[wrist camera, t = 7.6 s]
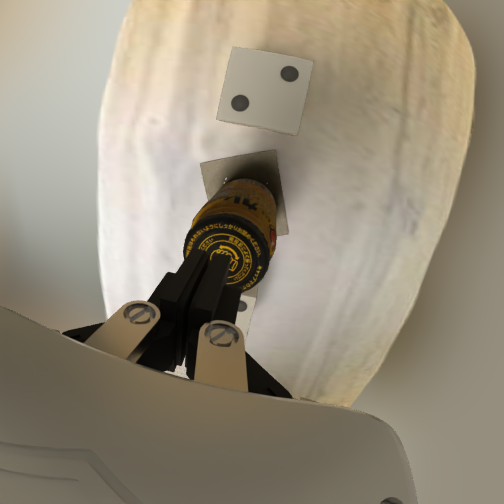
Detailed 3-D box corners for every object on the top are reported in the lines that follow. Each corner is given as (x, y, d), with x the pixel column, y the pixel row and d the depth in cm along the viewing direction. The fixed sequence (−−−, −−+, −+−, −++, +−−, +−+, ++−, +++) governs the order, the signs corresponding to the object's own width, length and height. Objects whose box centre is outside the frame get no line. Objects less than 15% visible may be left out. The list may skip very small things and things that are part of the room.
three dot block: (260, 267, 29) (257, 298, 24) (249, 311, 32) (244, 346, 26) (205, 255, 29) (189, 283, 24) (199, 300, 32) (185, 333, 26)
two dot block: (305, 77, 21) (314, 61, 16) (292, 135, 24) (298, 135, 18) (241, 65, 21) (232, 46, 16) (228, 123, 24) (215, 119, 18)
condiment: (218, 243, 29) (185, 311, 18) (200, 163, 25) (147, 186, 14) (288, 233, 28) (296, 300, 17) (275, 149, 24) (276, 160, 13)
